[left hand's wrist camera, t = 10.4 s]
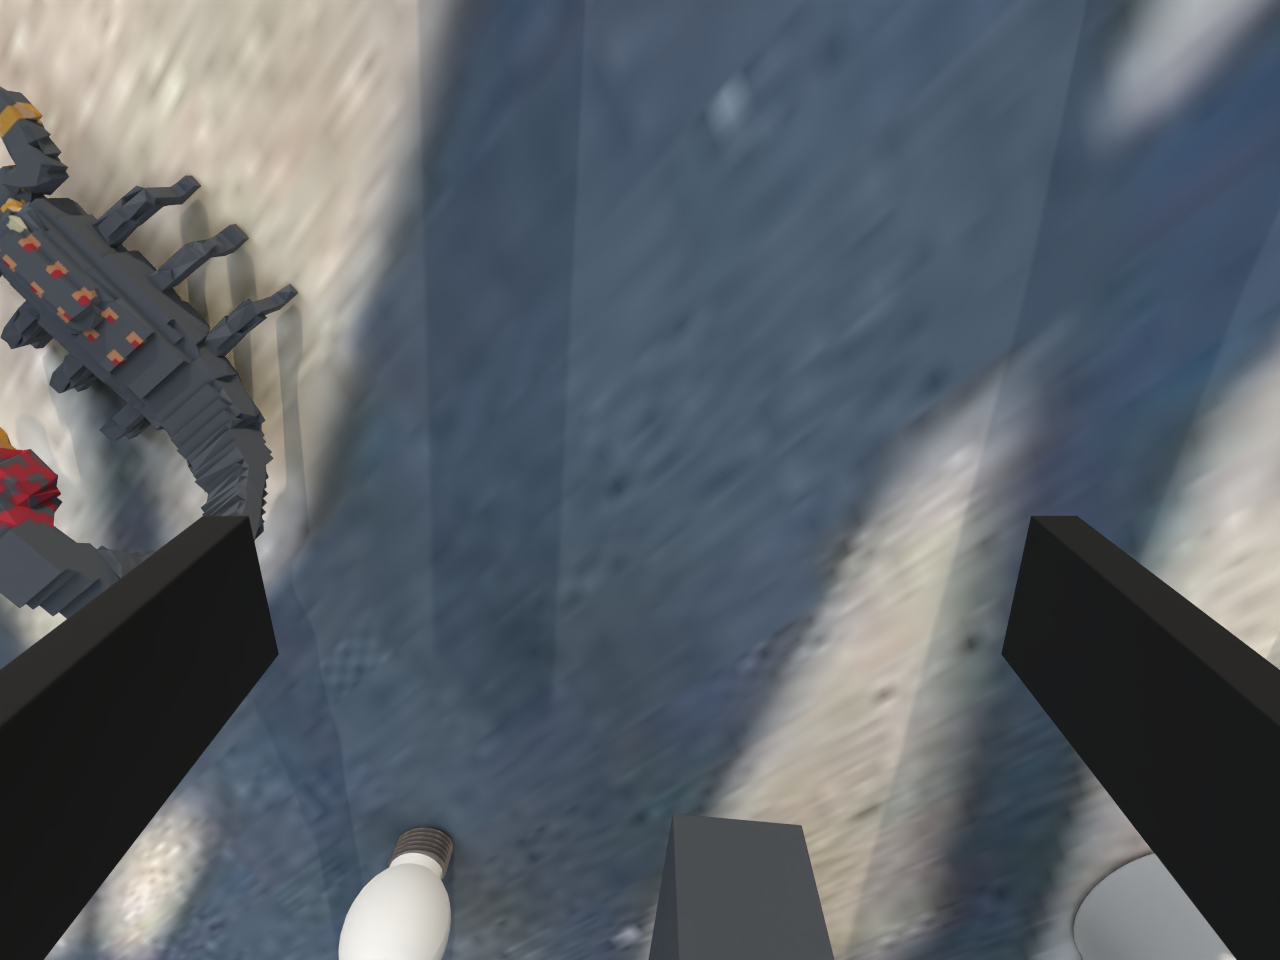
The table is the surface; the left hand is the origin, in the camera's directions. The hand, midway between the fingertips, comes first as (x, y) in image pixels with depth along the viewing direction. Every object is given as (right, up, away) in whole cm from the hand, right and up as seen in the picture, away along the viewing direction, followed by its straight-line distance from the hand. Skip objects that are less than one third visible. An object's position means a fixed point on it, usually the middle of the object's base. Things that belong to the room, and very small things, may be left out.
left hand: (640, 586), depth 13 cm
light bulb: (-16, -25, +42) cm, 51 cm away
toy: (-26, +12, +27) cm, 40 cm away
